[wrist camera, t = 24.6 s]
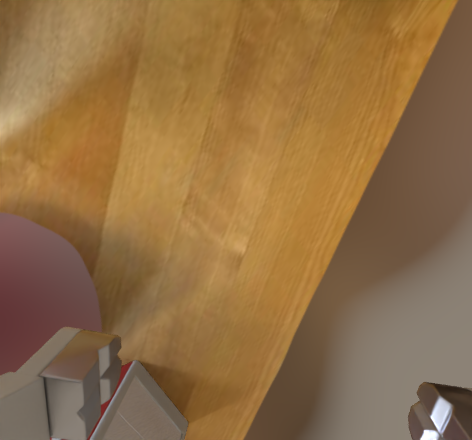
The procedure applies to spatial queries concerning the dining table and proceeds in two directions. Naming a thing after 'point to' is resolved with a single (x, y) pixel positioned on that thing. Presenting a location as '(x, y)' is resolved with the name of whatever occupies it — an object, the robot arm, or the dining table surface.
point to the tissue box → (138, 410)
